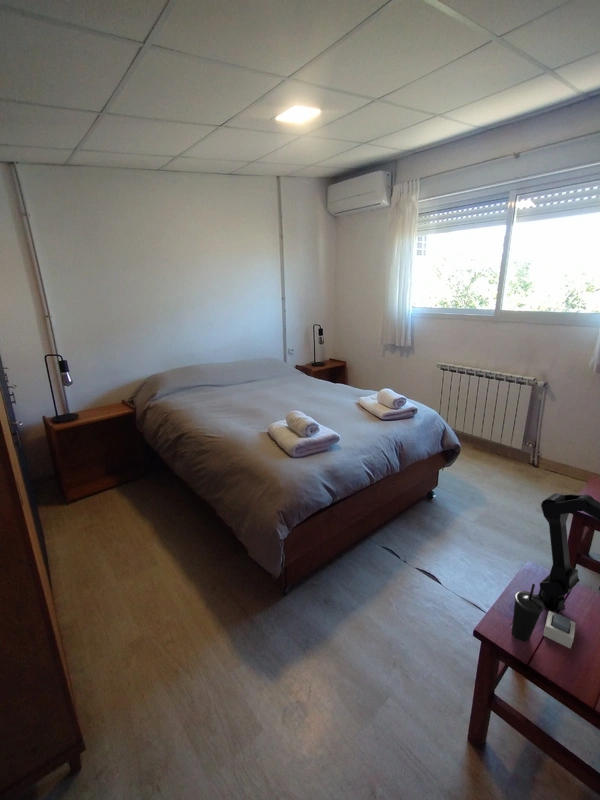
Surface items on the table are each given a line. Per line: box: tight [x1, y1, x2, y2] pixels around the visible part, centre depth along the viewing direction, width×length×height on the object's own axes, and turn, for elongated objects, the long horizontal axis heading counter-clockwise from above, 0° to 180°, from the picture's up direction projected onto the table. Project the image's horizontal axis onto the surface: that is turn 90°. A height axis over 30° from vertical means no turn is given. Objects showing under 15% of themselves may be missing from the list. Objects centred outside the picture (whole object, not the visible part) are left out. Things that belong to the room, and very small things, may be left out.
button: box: [552, 612, 571, 633], centre depth 115 cm, size 4×4×3 cm
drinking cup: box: [511, 583, 545, 643], centre depth 113 cm, size 8×8×20 cm
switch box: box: [542, 610, 576, 649], centre depth 116 cm, size 7×7×4 cm
